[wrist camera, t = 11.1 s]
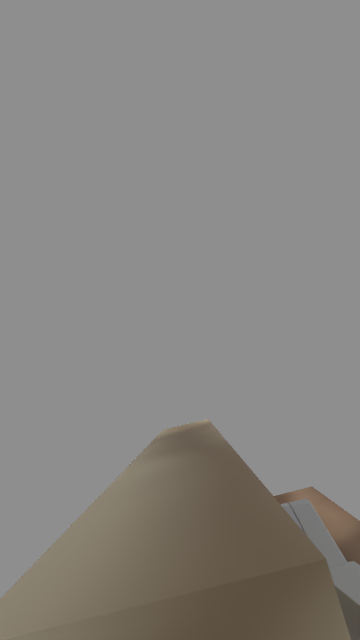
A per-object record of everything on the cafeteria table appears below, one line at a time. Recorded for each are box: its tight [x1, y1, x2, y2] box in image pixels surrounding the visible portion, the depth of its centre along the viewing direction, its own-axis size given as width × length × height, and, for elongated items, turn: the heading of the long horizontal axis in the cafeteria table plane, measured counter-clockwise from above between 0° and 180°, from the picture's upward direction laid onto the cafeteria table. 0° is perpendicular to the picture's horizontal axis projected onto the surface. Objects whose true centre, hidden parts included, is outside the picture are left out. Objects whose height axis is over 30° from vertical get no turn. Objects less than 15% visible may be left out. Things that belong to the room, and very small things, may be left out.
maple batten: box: [0, 419, 351, 640], centre depth 12 cm, size 4×20×5 cm, turn 177°
